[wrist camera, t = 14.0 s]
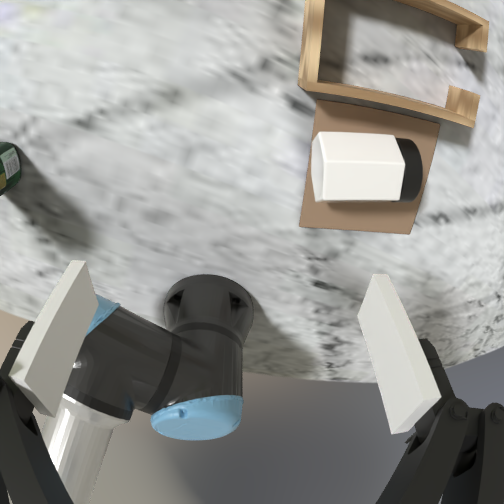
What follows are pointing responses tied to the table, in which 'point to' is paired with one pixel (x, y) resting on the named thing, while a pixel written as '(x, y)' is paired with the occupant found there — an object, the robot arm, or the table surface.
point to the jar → (365, 168)
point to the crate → (457, 106)
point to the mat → (367, 213)
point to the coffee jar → (8, 167)
